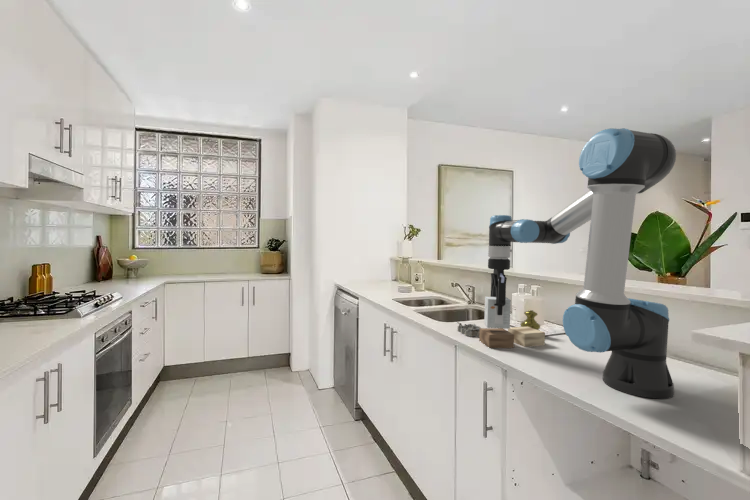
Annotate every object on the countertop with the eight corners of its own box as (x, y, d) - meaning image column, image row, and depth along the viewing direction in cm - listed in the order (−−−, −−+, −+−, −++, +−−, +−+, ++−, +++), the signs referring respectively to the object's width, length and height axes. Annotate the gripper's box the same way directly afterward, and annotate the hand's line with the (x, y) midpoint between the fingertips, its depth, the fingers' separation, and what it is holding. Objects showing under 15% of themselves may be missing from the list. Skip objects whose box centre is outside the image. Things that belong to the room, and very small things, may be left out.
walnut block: (513, 348, 127) (514, 334, 127) (488, 348, 126) (489, 334, 126) (502, 341, 136) (502, 328, 136) (479, 341, 135) (479, 328, 135)
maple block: (544, 345, 132) (545, 332, 131) (524, 347, 129) (524, 333, 129) (526, 339, 140) (527, 326, 140) (507, 340, 137) (508, 327, 137)
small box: (505, 325, 133) (507, 297, 133) (510, 329, 128) (511, 299, 127) (483, 324, 134) (484, 296, 134) (486, 328, 128) (488, 298, 128)
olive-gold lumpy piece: (517, 332, 150) (518, 308, 149) (535, 332, 150) (536, 308, 149) (524, 337, 142) (525, 312, 142) (543, 337, 142) (544, 312, 142)
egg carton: (455, 330, 151) (455, 320, 151) (472, 330, 152) (473, 320, 152) (465, 337, 140) (465, 326, 140) (483, 337, 141) (483, 326, 141)
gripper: (517, 260, 120) (514, 328, 121) (503, 257, 139) (501, 316, 140) (494, 259, 121) (491, 327, 122) (483, 256, 140) (481, 315, 140)
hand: (496, 321), depth 131 cm, fingers closed on small box, 6 cm apart
